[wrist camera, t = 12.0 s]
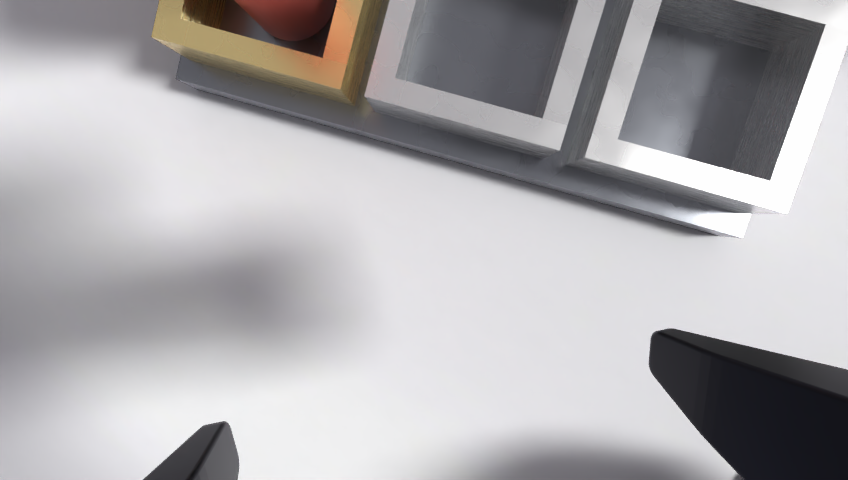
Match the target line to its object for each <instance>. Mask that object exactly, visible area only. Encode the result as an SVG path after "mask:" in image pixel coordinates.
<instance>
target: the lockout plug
mask: <svg viewBox="0 0 848 480" xmlns="http://www.w3.org/2000/svg"><path fill="white" fill-rule="evenodd" d="M234 1H235V2H236V3H237V4H238V5H240V6H241V7H242V8H243V9H244V10H245V11H246V12H247V13H248V14H249V15H250V16H251V17H252V18H253V19H254V20H255V21H256V22H257V23H258V24H259V25H260V26H261V27H262V28H263V29H264V30H265V31H266V32H268V33H269V34H270V35H272V36H274V37H276V38H279V39H282V40H286V41H299V40H304V39H307V38H309V37H311V36H313V35H315V34H316V33H318V32H319V31H320V30H321V29H322V28H323V27H324V26H325V25H326V23H327V22H328V20H329V19H330V17H331V15H332V12H333V9H334V6H335V0H234Z"/></svg>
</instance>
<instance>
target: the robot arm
mask: <svg viewBox="0 0 848 480" xmlns="http://www.w3.org/2000/svg"><path fill="white" fill-rule="evenodd" d="M649 368H650V370H651V372H652V374H653V376H654V377H655V378H656V379H657V381H658V382H659V383H660V384H661V386H662V387H663V388H664V389H665V391H666V392H667V393H668V394H669V396H670V397H671V398H672V399H673V400H674V402H675V403H676V404H677V405H678V407H679V408H680V409H681V410H682V412H683V413H684V414H685V415H686V417H687V418H688V419H689V420H690V422H691V423H692V424H693V425H694V426H695V428H696V429H697V430H698V431H699V432H700V434H701V435H702V436H703V437H704V438H705V439H706V440H707V441H708V442H709V443H710V444H711V446H712V447H713V448H714V449H715V450H716V451H717V452H718V453H719V454H720V455H721V456H722V457H723V458H724V459H725V460H726V461H727V462H728V463H729V464H730V465H731V467H732V468H733V469H734V470H735V471H736V472H737V473H738V474H739V475H740V476H741V477H742V478H743V479H744V480H848V370H847V369H842V368H838V367H834V366H830V365H825V364H821V363H817V362H813V361H808V360H804V359H800V358H796V357H792V356H787V355H783V354H779V353H775V352H770V351H766V350H762V349H758V348H753V347H749V346H745V345H741V344H736V343H732V342H728V341H724V340H719V339H715V338H711V337H707V336H703V335H698V334H694V333H690V332H686V331H681V330H677V329H664V330H659V331H656V332H654V333H653V334H652V336H651V342H650V354H649ZM238 473H239V457H238V453H237V449H236V445H235V442H234V438H233V435H232V431H231V428H230V425H229V424H228V423H227V422H225V421H222V422H218V423H213V424H208V425H204V426H202V427H201V428H200V429H199V430H198V431H196V432H195V433H194V434H193V435H192V436H191V437H190V438H189V439H188V440H186V441H185V442H184V443H183V444H182V445H181V446H180V447H179V448H178V449H176V450H175V451H174V452H173V453H172V454H171V455H170V456H169V457H168V458H167V459H165V460H164V461H163V462H162V463H161V464H160V465H159V466H158V467H157V468H155V469H154V470H153V471H152V472H151V473H150V474H149V475H148V476H147V477H145V478H144V479H143V480H238Z"/></svg>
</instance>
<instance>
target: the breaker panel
mask: <svg viewBox="0 0 848 480" xmlns="http://www.w3.org/2000/svg"><path fill="white" fill-rule="evenodd" d="M151 37H152V38H154V39H155V40H157V41H159V42H160V43H162V44H164V45H165V46H167V47H169V48H170V49H172V50H174V51H175V52H177V53H179V54H181V58H180V62H179V67H178V71H177V75H176V79H177V80H179V81H181V82H183V83H185V84H187V85H189V86H191V87H193V88H195V89H198V90H202V91H205V92H209V93H212V94H216V95H219V96H223V97H226V98H230V99H234V100H237V101H241V102H244V103H248V104H251V105H255V106H258V107H262V108H266V109H269V110H273V111H276V112H280V113H283V114H287V115H291V116H294V117H298V118H301V119H305V120H308V121H312V122H315V123H319V124H323V125H326V126H330V127H333V128H337V129H340V130H344V131H347V132H351V133H355V134H358V135H362V136H365V137H369V138H372V139H376V140H380V141H383V142H387V143H390V144H394V145H397V146H401V147H404V148H408V149H412V150H415V151H419V152H422V153H426V154H429V155H433V156H436V157H440V158H444V159H447V160H451V161H454V162H458V163H461V164H465V165H468V166H472V167H476V168H479V169H483V170H486V171H490V172H493V173H497V174H501V175H504V176H508V177H511V178H515V179H518V180H522V181H525V182H529V183H533V184H536V185H540V186H543V187H547V188H550V189H554V190H557V191H561V192H565V193H568V194H572V195H575V196H579V197H582V198H586V199H590V200H593V201H597V202H600V203H604V204H607V205H611V206H614V207H618V208H622V209H625V210H629V211H632V212H636V213H639V214H643V215H646V216H650V217H654V218H657V219H661V220H664V221H668V222H671V223H675V224H678V225H682V226H686V227H689V228H693V229H696V230H700V231H703V232H707V233H711V234H714V235H718V236H725V237H737V238H743V236H744V233H745V230H746V227H747V224H748V221H749V219H750V216H751V214H787V213H788V210H789V207H790V204H791V201H792V199H793V196H794V193H795V190H796V188H797V185H798V182H799V179H800V176H801V174H802V171H803V168H804V165H805V163H806V160H807V157H808V154H809V151H810V149H811V146H812V143H813V140H814V138H815V135H816V132H817V129H818V126H819V124H820V121H821V118H822V115H823V112H824V110H825V107H826V104H827V101H828V99H829V96H830V93H831V90H832V87H833V85H834V82H835V79H836V76H837V74H838V71H839V68H840V65H841V62H842V60H843V57H844V54H845V51H846V49H847V46H848V0H335V6H334V9H333V12H332V15H331V17H330V19H329V20H328V22H327V23H326V25H325V26H324V27H323V28H322V29H321V30H320V31H319V32H318V33H316V34H315V35H313V36H311V37H309V38H307V39H304V40H299V41H286V40H282V39H279V38H276V37H274V36H272V35H270V34H269V33H268V32H266V31H265V30H264V29H263V28H262V27H261V26H260V25H259V24H258V23H257V22H256V21H255V20H254V19H253V18H252V17H251V16H250V15H249V14H248V13H247V12H246V11H245V10H244V9H243V8H242V7H241V6H240V5H238V4H237V3H236V2H235V1H234V0H159V4H158V9H157V13H156V18H155V22H154V27H153V31H152V36H151Z"/></svg>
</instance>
